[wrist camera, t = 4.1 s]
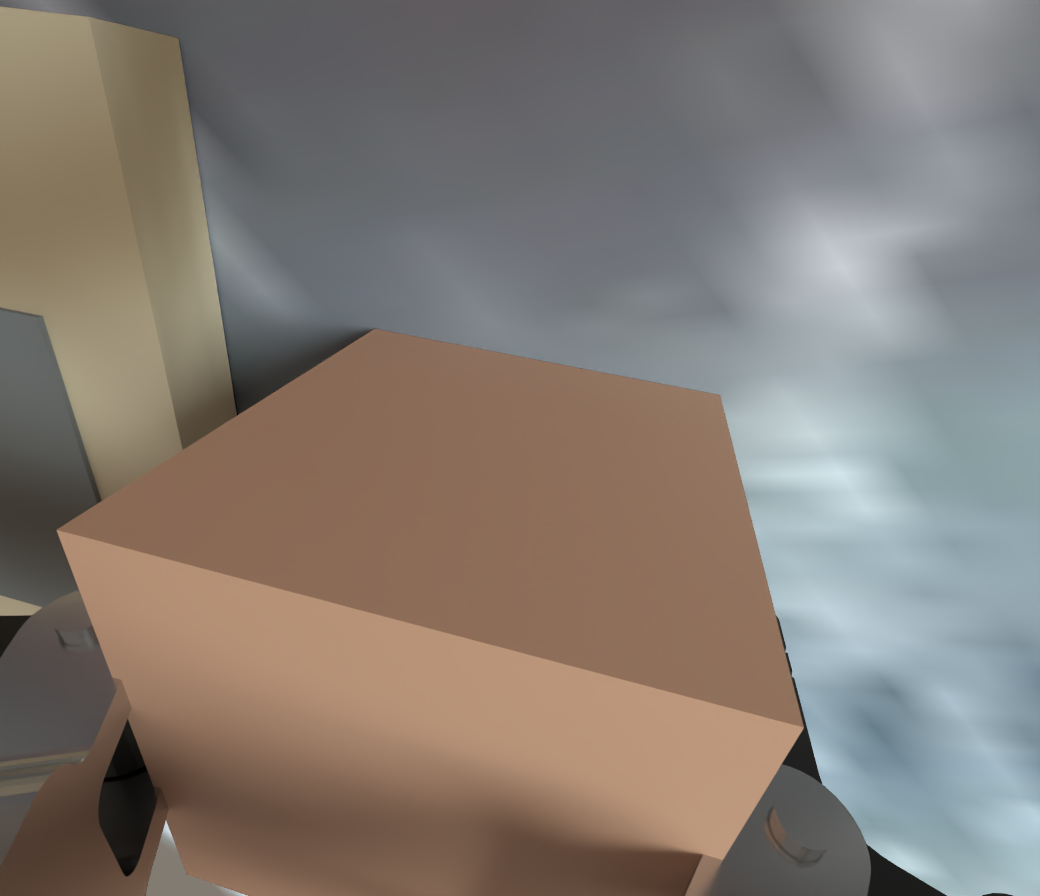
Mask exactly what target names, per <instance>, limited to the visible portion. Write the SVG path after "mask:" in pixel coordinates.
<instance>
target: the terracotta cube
mask: <svg viewBox="0 0 1040 896" xmlns="http://www.w3.org/2000/svg"><path fill="white" fill-rule="evenodd" d="M57 533H58V536H59V538H60V541H61V543H62V546H63V549H64V551H65V554H66V557H67V559H68V562H69V565H70V567H71V570H72V572H73V575H74V578H75V580H76V583H77V586H78V588H79V591H80V594H81V596H82V599H83V602H84V604H85V607H86V609H87V612H88V615H89V617H90V620H91V623H92V625H93V628H94V631H95V633H96V636H97V638H98V641H99V644H100V646H101V649H102V652H103V654H104V657H105V660H106V662H107V665H108V668H109V670H110V673H111V675H112V677H114V678H117V679H120V680H122V683H123V685H124V688H125V691H126V694H127V696H128V699H129V702H130V704H131V707H132V709H131V712H130V714H129V717H128V720H129V723H130V726H131V728H132V731H133V734H134V736H135V739H136V741H137V744H138V747H139V749H140V752H141V755H142V757H143V760H144V763H145V765H146V768H147V770H148V773H149V776H150V778H151V781H152V784H153V786H156V787H159V788H161V789H162V792H163V794H164V797H165V800H166V802H167V805H168V808H169V810H168V814H167V817H166V821H167V823H168V826H169V829H170V831H171V834H172V836H173V839H174V842H175V844H176V847H177V850H178V852H179V855H180V858H181V860H182V863H183V865H184V868H185V870H186V873H187V875H190V876H193V877H196V878H199V879H202V880H204V881H207V882H210V883H213V884H216V885H219V886H222V887H225V888H227V889H230V890H233V891H236V892H239V893H242V894H245V895H248V896H682V894H683V892H684V890H685V887H686V885H687V883H688V881H689V879H690V877H691V875H692V873H693V871H694V870H695V868H696V866H697V864H698V863H699V861H700V859H701V857H702V856H703V854H704V855H708V856H711V857H714V858H718V859H721V860H723V859H724V857H725V856H726V854H727V852H728V851H729V849H730V848H731V846H732V844H733V843H734V841H735V839H736V838H737V836H738V835H739V833H740V831H741V830H742V828H743V826H744V825H745V823H746V821H747V820H748V818H749V817H750V815H751V813H752V812H753V810H754V808H755V807H756V805H757V804H758V802H759V800H760V799H761V797H762V795H763V794H764V792H765V790H766V789H767V787H768V786H769V784H770V782H771V781H772V779H773V777H774V776H775V774H776V772H777V771H778V769H779V768H780V766H781V764H782V763H783V761H784V759H785V758H786V756H787V755H788V753H789V751H790V750H791V748H792V746H793V745H794V743H795V741H796V740H797V738H798V737H799V735H800V733H801V732H802V730H803V728H804V726H803V722H802V718H801V714H800V710H799V706H798V702H797V698H796V694H795V690H794V686H793V682H792V678H791V674H790V670H789V666H788V662H787V659H786V655H785V651H784V647H783V643H782V639H781V635H780V631H779V627H778V623H777V619H776V615H775V611H774V607H773V603H772V599H771V595H770V591H769V587H768V583H767V579H766V575H765V571H764V567H763V563H762V559H761V555H760V552H759V548H758V544H757V540H756V536H755V532H754V528H753V524H752V520H751V516H750V512H749V508H748V504H747V500H746V496H745V492H744V488H743V484H742V480H741V476H740V472H739V468H738V464H737V460H736V456H735V452H734V448H733V445H732V441H731V437H730V433H729V429H728V425H727V421H726V417H725V413H724V409H723V405H722V401H721V397H720V395H716V394H711V393H706V392H701V391H695V390H690V389H685V388H680V387H675V386H670V385H664V384H659V383H654V382H649V381H644V380H638V379H633V378H628V377H623V376H618V375H612V374H607V373H602V372H597V371H592V370H586V369H581V368H576V367H571V366H566V365H560V364H555V363H550V362H545V361H540V360H534V359H529V358H524V357H519V356H514V355H508V354H503V353H498V352H493V351H488V350H483V349H477V348H472V347H467V346H462V345H457V344H451V343H446V342H441V341H436V340H431V339H425V338H420V337H415V336H410V335H405V334H399V333H394V332H389V331H384V330H379V329H374V330H372V331H370V332H369V333H367V334H366V335H364V336H363V337H361V338H359V339H358V340H356V341H355V342H353V343H351V344H350V345H348V346H347V347H345V348H344V349H342V350H340V351H339V352H337V353H336V354H334V355H332V356H331V357H329V358H328V359H326V360H325V361H323V362H321V363H320V364H318V365H317V366H315V367H313V368H312V369H310V370H309V371H307V372H306V373H304V374H302V375H301V376H299V377H298V378H296V379H294V380H293V381H291V382H290V383H288V384H287V385H285V386H283V387H282V388H280V389H279V390H277V391H275V392H274V393H272V394H271V395H269V396H268V397H266V398H264V399H263V400H261V401H260V402H258V403H256V404H255V405H253V406H252V407H250V408H249V409H247V410H245V411H244V412H242V413H241V414H239V415H237V416H236V417H234V418H233V419H231V420H229V421H228V422H226V423H225V424H223V425H222V426H220V427H218V428H217V429H215V430H214V431H212V432H210V433H209V434H207V435H206V436H204V437H203V438H201V439H199V440H198V441H196V442H195V443H193V444H191V445H190V446H188V447H187V448H185V449H184V450H182V451H180V452H179V453H177V454H176V455H174V456H172V457H171V458H169V459H168V460H166V461H165V462H163V463H161V464H160V465H158V466H157V467H155V468H153V469H152V470H150V471H149V472H147V473H146V474H144V475H142V476H141V477H139V478H138V479H136V480H134V481H133V482H131V483H130V484H128V485H127V486H125V487H123V488H122V489H120V490H119V491H117V492H115V493H114V494H112V495H111V496H109V497H108V498H106V499H104V500H103V501H101V502H100V503H98V504H96V505H95V506H93V507H92V508H90V509H89V510H87V511H85V512H84V513H82V514H81V515H79V516H77V517H76V518H74V519H73V520H71V521H69V522H68V523H66V524H65V525H63V526H62V527H60V528H58V529H57Z"/></svg>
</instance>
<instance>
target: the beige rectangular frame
mask: <svg viewBox="0 0 1040 896" xmlns="http://www.w3.org/2000/svg"><path fill="white" fill-rule="evenodd" d="M236 416H237V413H236V407H235V400H234V394H233V387H232V381H231V374H230V368H229V361H228V355H227V349H226V342H225V336H224V329H223V323H222V316H221V310H220V303H219V297H218V290H217V284H216V278H215V271H214V265H213V258H212V252H211V245H210V239H209V232H208V226H207V220H206V213H205V207H204V200H203V194H202V187H201V181H200V174H199V168H198V161H197V155H196V149H195V142H194V136H193V129H192V123H191V116H190V110H189V103H188V97H187V90H186V84H185V78H184V71H183V65H182V58H181V52H180V45H179V39H178V38H176V37H172V36H167V35H163V34H159V33H155V32H150V31H146V30H142V29H138V28H133V27H129V26H125V25H121V24H116V23H112V22H108V21H104V20H99V19H95V18H91V17H85V16H76V15H68V14H59V13H51V12H42V11H34V10H25V9H17V8H9V7H0V616H20V615H33V614H34V613H36V612H37V611H38V610H40V609H41V608H42V607H44V606H45V605H47V604H49V603H50V602H52V601H54V600H56V599H58V598H60V597H62V596H64V595H67V594H69V593H72V592H74V591H78V590H79V588H78V586H77V583H76V580H75V578H74V575H73V572H72V570H71V567H70V565H69V562H68V559H67V557H66V554H65V551H64V549H63V546H62V543H61V541H60V538H59V536H58V533H57V529H58V528H60V527H62V526H63V525H65V524H66V523H68V522H69V521H71V520H73V519H74V518H76V517H77V516H79V515H81V514H82V513H84V512H85V511H87V510H89V509H90V508H92V507H93V506H95V505H96V504H98V503H100V502H101V501H103V500H104V499H106V498H108V497H109V496H111V495H112V494H114V493H115V492H117V491H119V490H120V489H122V488H123V487H125V486H127V485H128V484H130V483H131V482H133V481H134V480H136V479H138V478H139V477H141V476H142V475H144V474H146V473H147V472H149V471H150V470H152V469H153V468H155V467H157V466H158V465H160V464H161V463H163V462H165V461H166V460H168V459H169V458H171V457H172V456H174V455H176V454H177V453H179V452H180V451H182V450H184V449H185V448H187V447H188V446H190V445H191V444H193V443H195V442H196V441H198V440H199V439H201V438H203V437H204V436H206V435H207V434H209V433H210V432H212V431H214V430H215V429H217V428H218V427H220V426H222V425H223V424H225V423H226V422H228V421H229V420H231V419H233V418H234V417H236Z"/></svg>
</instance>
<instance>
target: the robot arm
mask: <svg viewBox="0 0 1040 896" xmlns="http://www.w3.org/2000/svg"><path fill="white" fill-rule="evenodd" d="M776 619H777V623H778V627H779V631H780V635H781V639H782V643H783V647H784V651H785V650H786V645H785V641H784V637H783V634H782V630H781V626H780V622H779V619H778V618H777V616H776ZM785 655H786V659H787V662H788V666H789V670H790V674H791V678H792V682H793V686H794V690H795V694H796V698H797V702H798V706H799V710H800V714H801V718H802V722H803V726H804V728H803V730H802V732H801V733H800V735H799V737H798V738H797V740H796V741H795V743H794V745H793V746H792V748H791V750H790V751H789V753H788V755H787V756H786V758H785V759H784V761H783V763H782V764H781V766H780V768H779V769H778V771H777V772H776V774H775V776H774V777H773V779H772V781H771V782H770V784H769V786H768V787H767V789H766V790H765V792H764V794H763V795H762V797H761V799H760V800H759V802H758V804H757V805H756V807H755V808H754V810H753V812H752V813H751V815H750V817H749V818H748V820H747V821H746V823H745V825H744V826H743V828H742V830H741V831H740V833H739V835H738V836H737V838H736V839H735V841H734V843H733V844H732V846H731V848H730V849H729V851H728V852H727V854H726V856H725V857H724V859H723V860H721V859H718V858H714V857H711V856H708V855H704V854H703V856H702V857H701V859H700V861H699V863H698V864H697V866H696V868H695V870H694V871H693V873H692V875H691V877H690V879H689V881H688V883H687V885H686V887H685V890H684V892H683V894H682V896H946V895H945V894H943V893H941V892H940V891H938V890H936V889H935V888H933V887H931V886H930V885H928V884H926V883H925V882H923V881H921V880H920V879H918V878H916V877H915V876H913V875H911V874H910V873H908V872H906V871H905V870H903V869H901V868H900V867H898V866H896V865H895V864H893V863H891V862H890V861H888V860H887V859H885V858H884V857H882V856H881V855H880V854H878V853H877V852H876V851H875V850H873V849H872V848H871V847H870V846H868V845H867V844H866V842H865V840H864V837H863V835H862V833H861V831H860V829H859V827H858V825H857V824H856V822H855V820H854V818H853V817H852V816H851V814H850V813H849V812H848V810H847V809H846V807H845V806H844V805H843V804H842V803H841V802H840V801H839V800H838V798H837V797H836V796H835V795H834V794H833V793H831V792H830V791H829V790H828V789H827V788H826V787H825V786H823V785H822V782H821V779H820V776H819V773H818V769H817V765H816V761H815V757H814V753H813V750H812V746H811V742H810V738H809V734H808V730H807V726H806V722H805V719H804V715H803V711H802V707H801V703H800V699H799V695H798V692H797V688H796V684H795V680H794V678H793V677H792V668H791V665H790V661H789V657H788V653H785ZM131 709H132V707H131V704H130V702H129V699H128V696H127V694H126V691H125V688H124V685H123V683H122V680H120V679H117V678H114V677H112V675H111V673H110V670H109V668H108V665H107V662H106V660H105V657H104V654H103V652H102V649H101V646H100V644H99V641H98V638H97V636H96V633H95V631H94V628H93V625H92V623H91V620H90V617H89V615H88V612H87V609H86V607H85V604H84V602H83V599H82V596H81V594H80V591H79V590H78V591H74V592H72V593H69V594H67V595H64V596H62V597H60V598H58V599H56V600H54V601H52V602H50V603H49V604H47V605H45V606H44V607H42V608H41V609H40V610H38V611H37V612H36V613H34V614H33V615H20V616H0V896H146V891H147V886H148V881H149V877H150V873H151V869H152V866H153V863H154V859H155V856H156V852H157V849H158V845H159V842H160V838H161V835H162V831H163V828H164V824H165V821H166V817H167V814H168V810H169V808H168V805H167V802H166V800H165V797H164V794H163V792H162V789H161V788H159V787H156V786H153V784H152V781H151V778H150V776H149V773H148V770H147V768H146V765H145V763H144V760H143V757H142V755H141V752H140V749H139V747H138V744H137V741H136V739H135V736H134V734H133V731H132V728H131V726H130V723H129V720H128V717H129V714H130V712H131ZM983 896H1012V895H1008V894H1002V893H991V894H986V895H983Z"/></svg>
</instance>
